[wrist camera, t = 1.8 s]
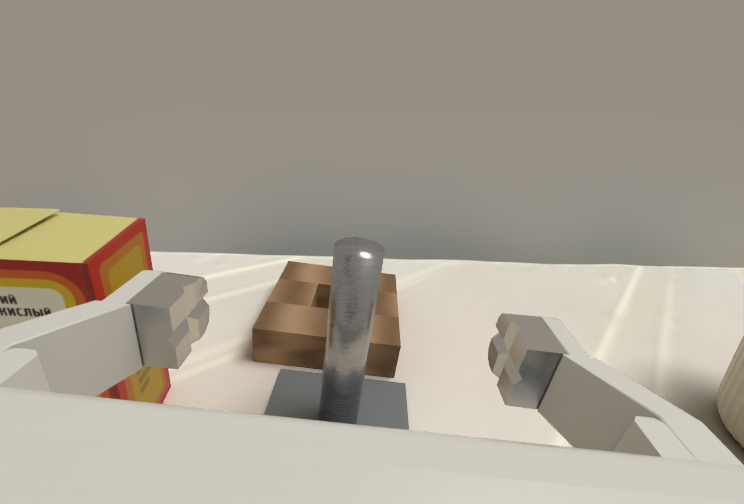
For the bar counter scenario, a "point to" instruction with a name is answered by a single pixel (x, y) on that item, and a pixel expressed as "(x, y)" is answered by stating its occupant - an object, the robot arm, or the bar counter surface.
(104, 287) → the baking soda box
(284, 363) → the hole block
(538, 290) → the bar counter surface
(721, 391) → the canister
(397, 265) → the bar counter surface
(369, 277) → the pin
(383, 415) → the mat
